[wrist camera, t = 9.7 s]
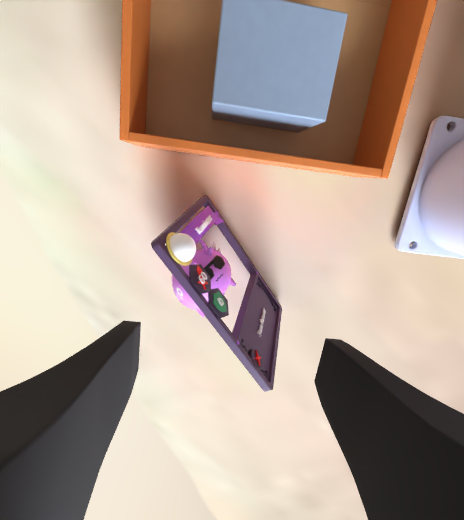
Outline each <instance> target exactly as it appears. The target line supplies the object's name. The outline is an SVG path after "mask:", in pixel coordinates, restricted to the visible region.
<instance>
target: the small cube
mask: <svg viewBox="0 0 464 520" xmlns="http://www.w3.org/2000/svg"><path fill="white" fill-rule="evenodd" d="M346 21H347V13H345V12H340V11H335V10H330V9H325V8H320V7H316V6H311V5H306V4H301V3H296V2H291V1H286V0H222V6H221V16H220V26H219V36H218V46H217V56H216V66H215V75H214V85H213V95H212V119H215V120H222V121H228V122H234V123H241V124H247V125H254V126H260V127H266V128H273V129H279V130H285V131H292V132H298V133H299V132H301V131H304V130H306V129H308V128H311V127H313V126H316V125H318V124H320V123H323V122H325V121H326V118H327V113H328V108H329V103H330V98H331V93H332V89H333V84H334V79H335V74H336V69H337V64H338V59H339V55H340V50H341V45H342V40H343V35H344V30H345V25H346Z"/></svg>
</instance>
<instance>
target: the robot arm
mask: <svg viewBox="0 0 464 520" xmlns="http://www.w3.org/2000/svg"><path fill="white" fill-rule="evenodd" d="M448 123H449V124H450V129H449V131H448V130H447V125H448ZM412 241H413V245H412V246H411V247H409V244H410V243H411V242H412ZM395 247H396V248H397V250H400V251H403V252H410V253H419V254H427V255H436V256H444V257H453V258H461V259H464V119H463V118H457V117H451V116H439V117H437V118H435V119H434V120H433V121H432V123H431V125H430V129H429V132H428V135H427V138H426V142H425V145H424V148H423V152H422V155H421V158H420V162H419V165H418V168H417V172H416V175H415V178H414V182H413V185H412V188H411V191H410V195H409V198H408V201H407V205H406V208H405V211H404V215H403V218H402V221H401V225H400V228H399V231H398V235H397V238H396V241H395ZM140 326H141V322H131V321H123V322H121V323H120V324H119V325H117V326H116V327H114V328H113V329H112V330H110V331H109V332H107V333H106V334H105V335H103V336H102V337H100V338H99V339H97V340H96V341H95V342H93V343H92V344H90V345H89V346H87V347H86V348H84V349H82V350H81V351H79V352H78V353H76V354H74V355H73V356H71V357H69V358H68V359H66V360H65V361H63V362H61V363H59V364H58V365H56V366H54V367H52V368H50V369H48V370H46V371H44V372H42V373H41V374H39V375H37V376H35V377H33V378H31V379H28V380H26V381H24V382H22V383H20V384H17V385H15V386H12V387H10V388H8V389H6V390H3V391H1V392H0V520H83V519H84V516H85V513H86V510H87V507H88V503H89V500H90V497H91V494H92V491H93V488H94V485H95V482H96V479H97V476H98V473H99V469H100V467H101V465H102V462H103V459H104V457H105V454H106V452H107V449H108V447H109V445H110V442H111V440H112V438H113V435H114V433H115V431H116V428H117V426H118V424H119V421H120V419H121V416H122V414H123V412H124V410H125V407H126V405H127V402H128V400H129V398H130V395H131V392H132V389H133V386H134V382H135V379H136V375H137V372H138V365H139V345H140ZM315 385H316V389H317V392H318V396H319V399H320V402H321V405H322V407H323V410H324V412H325V414H326V417H327V419H328V421H329V423H330V426H331V428H332V430H333V432H334V434H335V437H336V439H337V441H338V443H339V445H340V447H341V450H342V452H343V454H344V456H345V458H346V461H347V463H348V465H349V467H350V470H351V472H352V475H353V477H354V480H355V482H356V485H357V488H358V491H359V494H360V497H361V500H362V502H363V505H364V508H365V511H366V514H367V517H368V520H464V414H463V413H461V412H459V411H457V410H455V409H453V408H451V407H449V406H447V405H445V404H443V403H441V402H440V401H438V400H436V399H434V398H432V397H430V396H428V395H427V394H425V393H423V392H422V391H420V390H418V389H416V388H415V387H413V386H412V385H410V384H408V383H407V382H405V381H403V380H402V379H400V378H399V377H397V376H396V375H394V374H392V373H391V372H389V371H388V370H386V369H385V368H383V367H382V366H380V365H379V364H377V363H376V362H375V361H373V360H372V359H370V358H369V357H367V356H366V355H364V354H363V353H361V352H360V351H358V350H357V349H355V348H354V347H352V346H351V345H349V344H347V343H346V342H344V341H342V340H338V339H325V343H324V347H323V351H322V354H321V358H320V362H319V366H318V370H317V374H316V377H315Z"/></svg>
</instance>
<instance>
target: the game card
mask: <svg viewBox="0 0 464 520" xmlns="http://www.w3.org/2000/svg"><path fill="white" fill-rule="evenodd" d="M203 206H204V207H205V209H204V210H202V211H201V212H200V213H199V214H198V215H197V216H196V217H195V218H194V219H193V220H192V221H191V222H190V223H189V224H188V225H187V226H186V227H185V228H184V229H183V230H182V231H181V232H180V233H176V232H177V231H178V230H179V229H180V228H181V227H182V226H183V225H184V224H185V223H186V222H187V221H188V220H189V219H190V218H191V217H192V216H193V215H194V214H195V213H197V212H198V211H199V210H200V209H201V208H202V207H203ZM213 224H215V225H217V226H218V228H219V229H220V230H221V232H222V233H223V235H224V236H225V238H226V239H227V241H228V242H229V244H230V245H231V247H232V248H233V250H234V251H235V252H236V254H237V255H238V257H239V258H240V260H241V261H242V263H243V264H244V266H245V267H246V269H247V270H248V272H249V273H250V279H249V282H248V285H247V288H246V291H245V294H244V298H243V301H242V304H241V307H240V310H239V313H238V316H237V320H236V323H235V326H234V329H233V332H232V333H231V331H230V330H229V329H228V327H227V326H226V325H225V323H224V322H223V321H222V320H221V318H222V317H225V316H228V315H229V314H228V302H227V299H226V298H225V296H224V294H225V293H224V292H225V291H226V289H227V287H228V285H234V286H235V285H236V283H235V282H234V281H233V279H232V278H231V269H230V265H229V263H228V261H227V260H226V258H225V257H224V256H222V255H221V253H220V249H218V251H216V250H215V244H214V242H213V246H212V248H211V247H210V248H208V247H207V245H206V244H205V242H204V241H202V240H200V239H201V238H202V237H203V235H204V234H205V233H206V232H207V231H208V230H209V228H210V227H211V226H212V225H213ZM199 241H200V243H201V244H202V247H203V249H200V250H196V245H197V243H198V242H199ZM165 243H166V246H165ZM151 245H152V248H153V250H154V251H155V252H156V254H157V255H158V256H159V257H160V259H161V260H162V261H163V262H164V264H165V265H166V266H167V268H168V269H169V270H170V271H171V273H172V274H173V275H172V285H173V289H174V292H175V294H176V296H177V298H178V299H179V300H180V302H181V303H183V304H184V305H185V306H187V307H189V308H191V309H195V310H197V311H198V312H199V313H200V315H201V316H202V317H204V315H205V316H206V318H207V319H208V320H209V321H210V323H211V324H212V325H213V327H214V328H215V329H216V330H217V332H218V333H219V334H220V336H221V337H222V338H223V339H224V341H225V342H226V343H227V345H228V346H229V347H230V348H231V350H232V351H233V352H234V354H235V355H236V356H237V357H238V359H239V360H240V361H241V362H242V364H243V365H244V366H245V368H246V369H247V370H248V371H249V373H250V374H251V375H252V377H253V378H254V379H255V380H256V382H257V383H258V384H259V386H260V387H261V388H262V389H263V391H269V390H272V389H273V384H274V375H275V366H276V357H277V348H278V339H279V330H280V321H281V312H282V308H281V306H280V304H279V302H278V301H277V299H276V298H275V296H274V295H273V294H272V292H271V291H270V289H269V288H268V286H267V285H266V283H265V282H264V280H263V279H262V277H261V276H260V274H259V273H258V271H257V270H256V268H255V267H254V265H253V264H252V262H251V261H250V259H249V258H248V256H247V255H246V253H245V252H244V250H243V249H242V247H241V246H240V244H239V243H238V241H237V240H236V238H235V237H234V235H233V234H232V232H231V231H230V229H229V228H228V226H227V225H226V223H225V222H224V220H223V219H222V217H221V216H220V214H219V213H218V210H216V208H215V207H214V205H213V204H212V203H211V201H210V200H209V198H208V197H207V196H204V197H202V198H200V199H199V200H198V201H197V202H196V203H195V204H194V205H192V206H191V207H190V208H189V209H188V210H187V211H186V212H185V213H184V214H182V215H181V216H180V217H179V218H178V219H177V220H176V221H175V222H174V223H172V224H171V225H170V226H169V227H168V228H167V229H166V230H165V231H163V232H162V233H161V234H160V235H159V236H158V237H157V238H156V239H155V240H153V241H152V243H151Z"/></svg>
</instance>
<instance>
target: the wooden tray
mask: <svg viewBox="0 0 464 520" xmlns="http://www.w3.org/2000/svg"><path fill="white" fill-rule="evenodd" d="M286 1H291V2H296V3H301V4H306V5H311V6H316V7H320V8H325V9H330V10H335V11H340V12H345V13H347V21H346V25H345V30H344V35H343V40H342V45H341V50H340V55H339V59H338V64H337V69H336V74H335V79H334V84H333V89H332V93H331V98H330V103H329V108H328V113H327V118H326V121H325V122H323V123H320V124H318V125H316V126H313V127H311V128H308V129H306V130H304V131H301V132H299V133H298V132H292V131H285V130H279V129H273V128H266V127H260V126H254V125H247V124H241V123H234V122H228V121H222V120H215V119H212V95H213V85H214V75H215V66H216V56H217V46H218V36H219V26H220V16H221V6H222V0H122V43H121V94H120V140H122V141H125V142H128V143H131V144H134V145H137V146H142V147H149V148H156V149H163V150H170V151H177V152H184V153H191V154H198V155H205V156H212V157H219V158H226V159H233V160H240V161H247V162H254V163H261V164H268V165H275V166H282V167H289V168H296V169H303V170H310V171H317V172H324V173H331V174H338V175H345V176H352V177H368V178H388V176H389V173H390V169H391V166H392V162H393V158H394V155H395V151H396V147H397V144H398V140H399V137H400V133H401V129H402V126H403V122H404V119H405V115H406V111H407V108H408V104H409V100H410V97H411V93H412V90H413V86H414V82H415V79H416V75H417V72H418V68H419V64H420V61H421V57H422V53H423V50H424V46H425V43H426V39H427V35H428V32H429V28H430V25H431V21H432V17H433V14H434V10H435V6H436V3H437V0H286Z"/></svg>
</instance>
